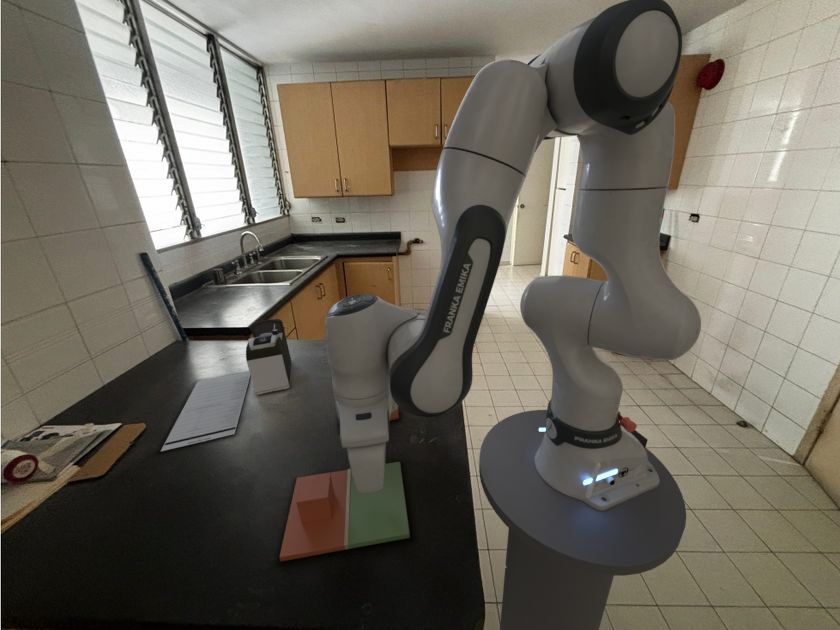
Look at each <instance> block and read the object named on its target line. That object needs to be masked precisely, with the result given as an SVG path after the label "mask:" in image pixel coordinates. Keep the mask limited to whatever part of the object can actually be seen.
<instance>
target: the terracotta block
mask: <svg viewBox="0 0 840 630" xmlns="http://www.w3.org/2000/svg"><path fill="white" fill-rule="evenodd" d="M327 473H328V474H324V473H320V474H321V475H317V474H314V475H315V476H311V475H307V476H308V477H304V476H301V477H302V478H301V482H300V487H299V492H298V497H297V502H296V503H297V507H298V511H299V515H300V519H301V523H302V524H303V523H309V522H315V521H321V520H326V519H332V514H333V503H334V489H333V483H332V478H331V473H330V472H327Z"/></svg>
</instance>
